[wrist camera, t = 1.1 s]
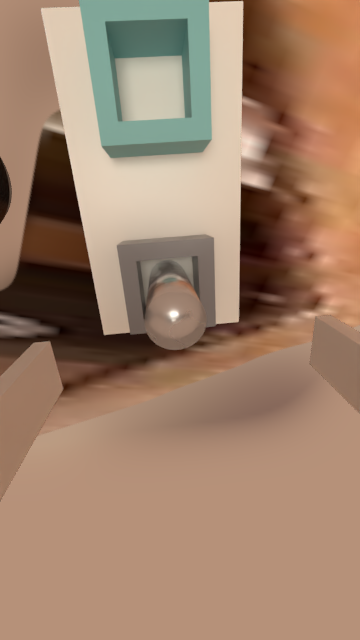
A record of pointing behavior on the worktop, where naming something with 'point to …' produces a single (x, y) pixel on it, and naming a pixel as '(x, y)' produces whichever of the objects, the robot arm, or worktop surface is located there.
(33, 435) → the robot arm
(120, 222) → the mount board
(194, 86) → the socket
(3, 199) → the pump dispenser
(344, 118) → the worktop surface
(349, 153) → the worktop surface
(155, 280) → the lock pin
